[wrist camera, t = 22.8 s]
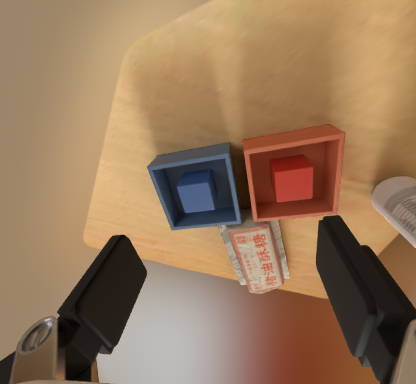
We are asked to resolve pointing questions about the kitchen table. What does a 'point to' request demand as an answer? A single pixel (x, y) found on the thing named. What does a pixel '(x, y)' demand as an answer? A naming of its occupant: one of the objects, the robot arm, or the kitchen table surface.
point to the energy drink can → (398, 204)
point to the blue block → (197, 191)
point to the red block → (291, 178)
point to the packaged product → (256, 252)
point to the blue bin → (189, 162)
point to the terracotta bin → (289, 146)
